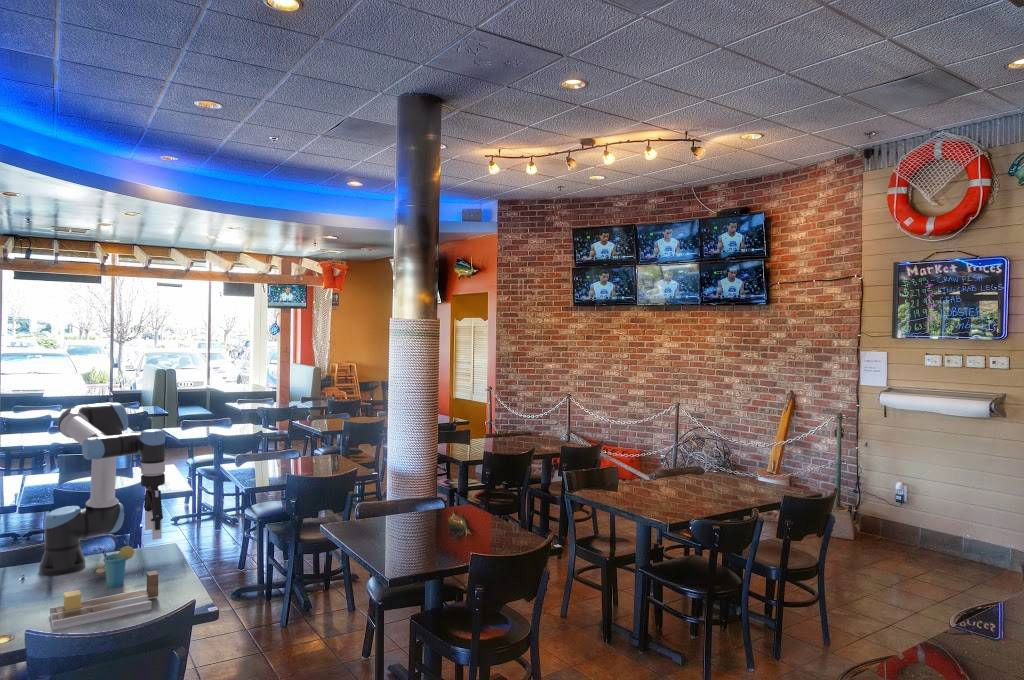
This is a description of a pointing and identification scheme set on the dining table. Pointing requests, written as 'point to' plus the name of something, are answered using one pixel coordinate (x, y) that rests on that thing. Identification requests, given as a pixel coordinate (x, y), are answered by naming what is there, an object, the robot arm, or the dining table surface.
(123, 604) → the lane board
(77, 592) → the cube
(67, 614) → the broken strip
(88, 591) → the dining table surface
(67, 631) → the dining table surface
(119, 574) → the cup
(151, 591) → the strip
